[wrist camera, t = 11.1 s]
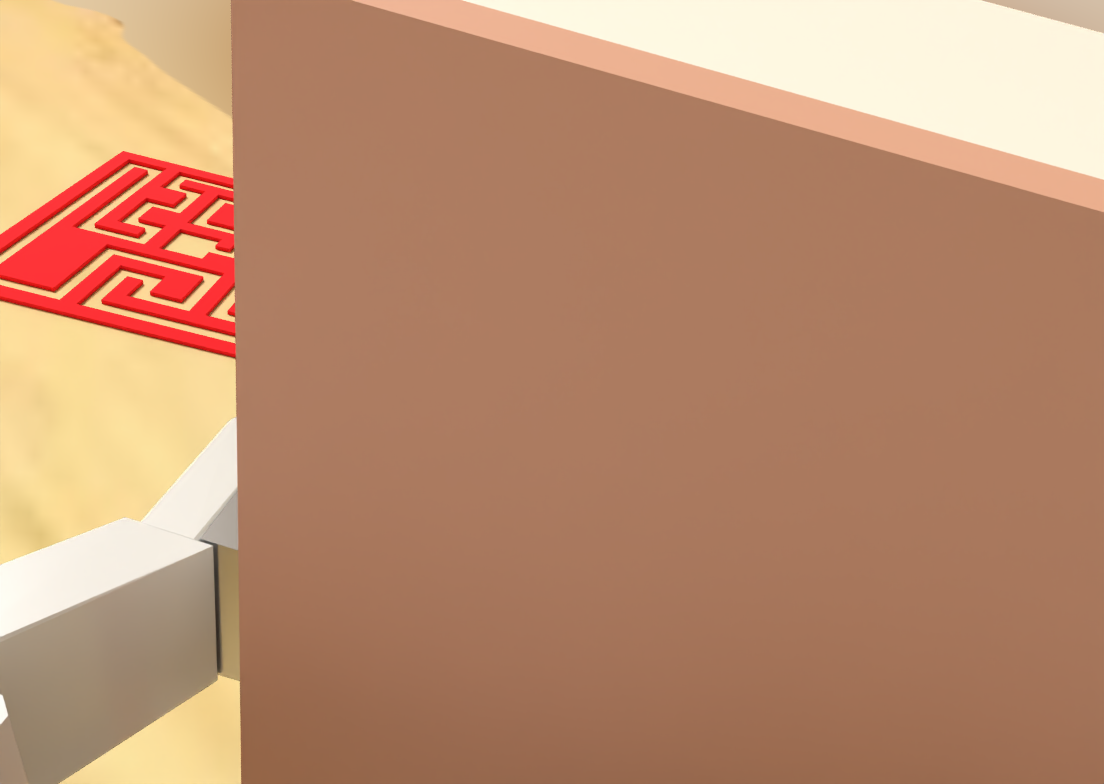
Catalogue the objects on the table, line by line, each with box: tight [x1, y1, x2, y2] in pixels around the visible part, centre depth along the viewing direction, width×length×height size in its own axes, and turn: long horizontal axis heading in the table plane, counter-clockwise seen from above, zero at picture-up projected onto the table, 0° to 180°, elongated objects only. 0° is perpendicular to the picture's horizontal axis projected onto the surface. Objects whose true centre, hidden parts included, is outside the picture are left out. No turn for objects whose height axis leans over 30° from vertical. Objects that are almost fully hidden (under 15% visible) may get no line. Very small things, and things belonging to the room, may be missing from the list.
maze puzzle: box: [0, 151, 236, 358], centre depth 58 cm, size 20×20×1 cm
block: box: [231, 0, 1104, 784], centre depth 9 cm, size 4×5×14 cm
